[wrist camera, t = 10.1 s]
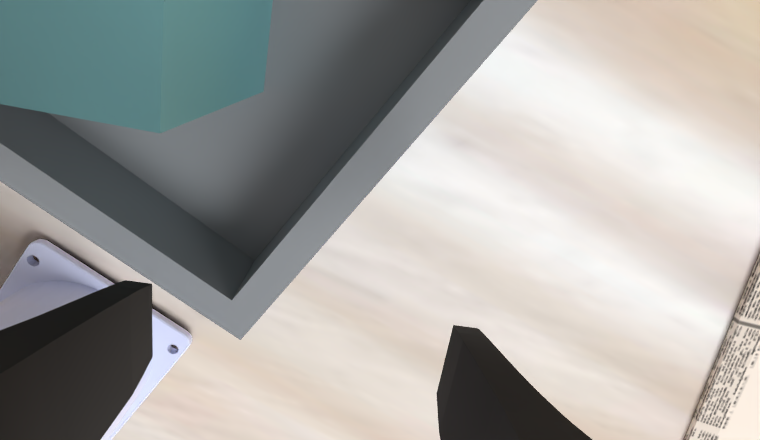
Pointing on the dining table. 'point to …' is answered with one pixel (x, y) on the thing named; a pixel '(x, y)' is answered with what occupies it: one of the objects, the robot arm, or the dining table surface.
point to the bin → (259, 150)
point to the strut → (132, 58)
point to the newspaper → (734, 377)
